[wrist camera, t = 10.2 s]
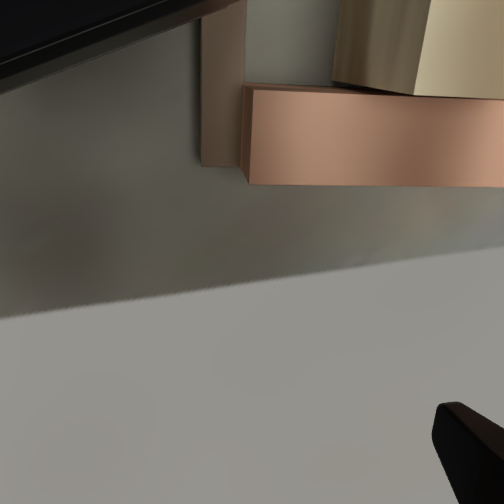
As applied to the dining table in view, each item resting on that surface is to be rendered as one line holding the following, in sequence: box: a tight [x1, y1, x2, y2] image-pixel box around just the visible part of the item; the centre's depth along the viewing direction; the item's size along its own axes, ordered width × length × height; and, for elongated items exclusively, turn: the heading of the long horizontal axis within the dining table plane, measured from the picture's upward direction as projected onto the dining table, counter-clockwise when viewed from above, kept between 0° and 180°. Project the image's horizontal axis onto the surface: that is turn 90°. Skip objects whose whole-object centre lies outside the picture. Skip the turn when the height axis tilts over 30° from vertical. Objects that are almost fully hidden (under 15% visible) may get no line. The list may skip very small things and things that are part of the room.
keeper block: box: [332, 0, 504, 99], centre depth 14 cm, size 4×4×7 cm
